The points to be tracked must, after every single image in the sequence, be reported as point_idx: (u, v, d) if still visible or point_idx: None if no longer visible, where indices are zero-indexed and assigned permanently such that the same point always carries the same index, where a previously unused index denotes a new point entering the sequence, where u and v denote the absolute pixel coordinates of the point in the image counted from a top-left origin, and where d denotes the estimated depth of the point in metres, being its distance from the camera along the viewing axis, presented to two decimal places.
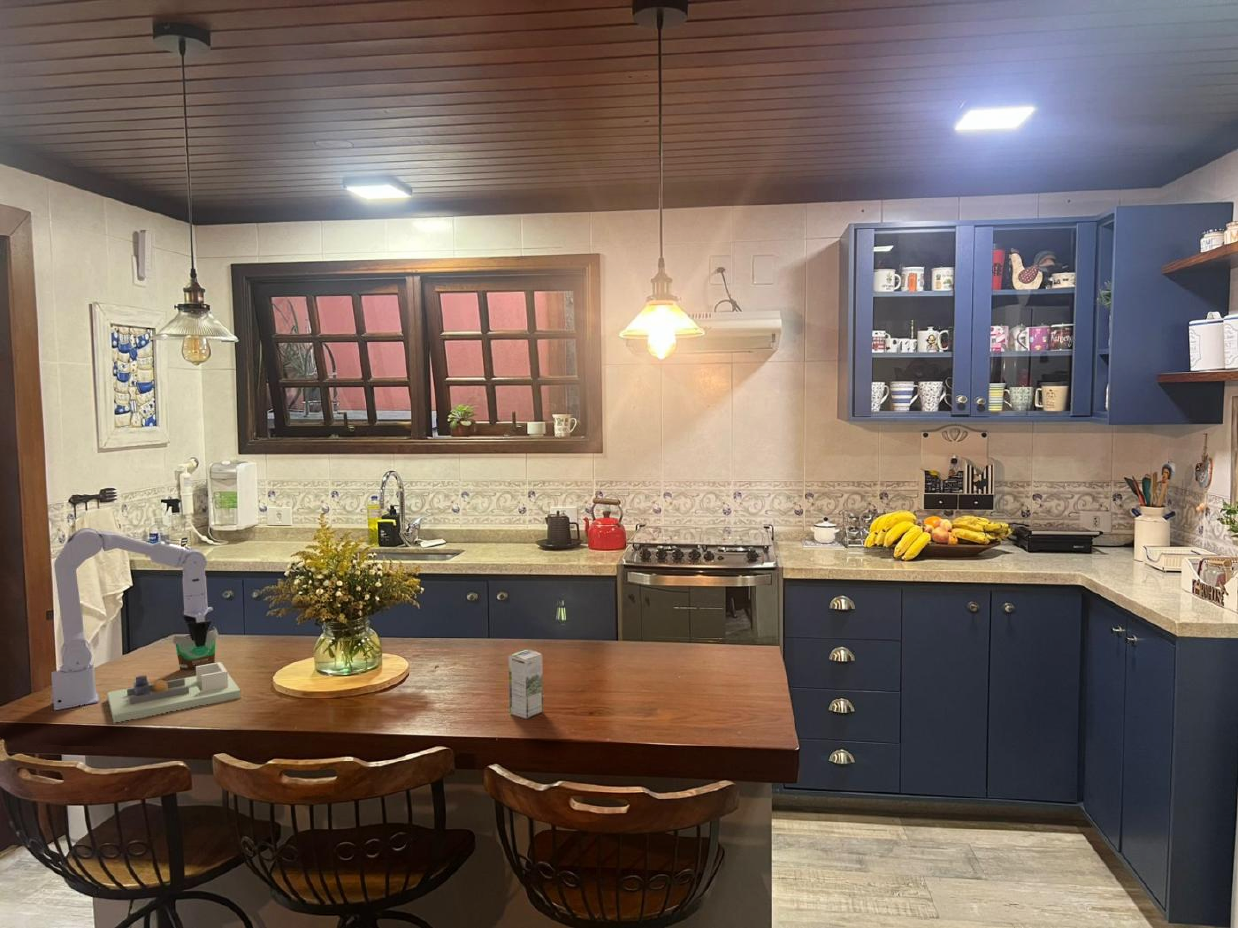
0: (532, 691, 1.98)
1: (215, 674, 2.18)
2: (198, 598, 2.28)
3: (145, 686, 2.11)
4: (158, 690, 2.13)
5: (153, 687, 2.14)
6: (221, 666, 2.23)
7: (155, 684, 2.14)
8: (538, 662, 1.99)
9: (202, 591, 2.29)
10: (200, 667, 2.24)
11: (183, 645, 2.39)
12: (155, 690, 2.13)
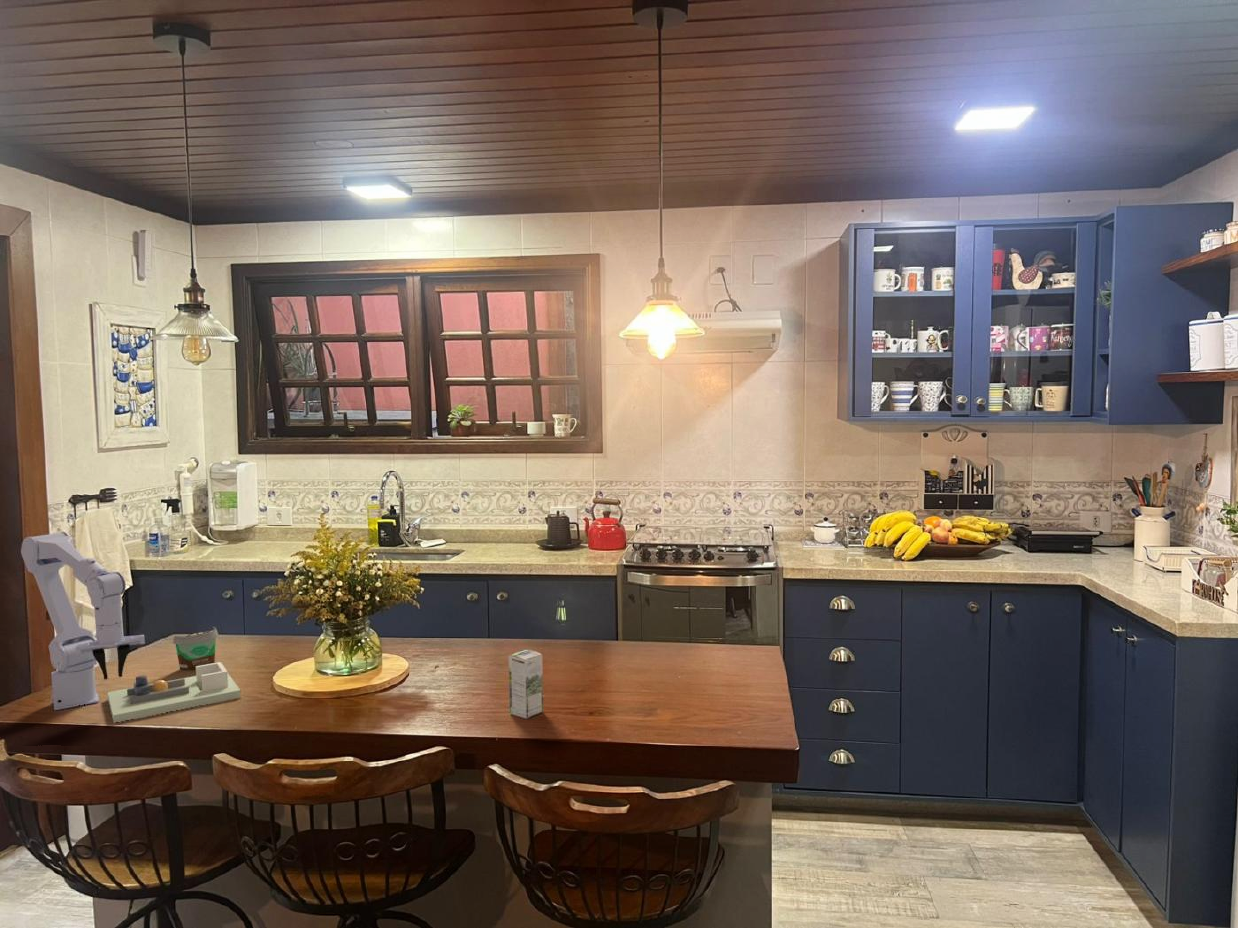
0: (532, 691, 1.98)
1: (215, 674, 2.18)
2: (96, 628, 2.06)
3: (145, 686, 2.11)
4: (158, 690, 2.13)
5: (153, 687, 2.14)
6: (221, 666, 2.23)
7: (155, 684, 2.14)
8: (538, 662, 1.99)
9: (102, 622, 2.05)
10: (200, 667, 2.24)
11: (183, 645, 2.39)
12: (155, 690, 2.13)
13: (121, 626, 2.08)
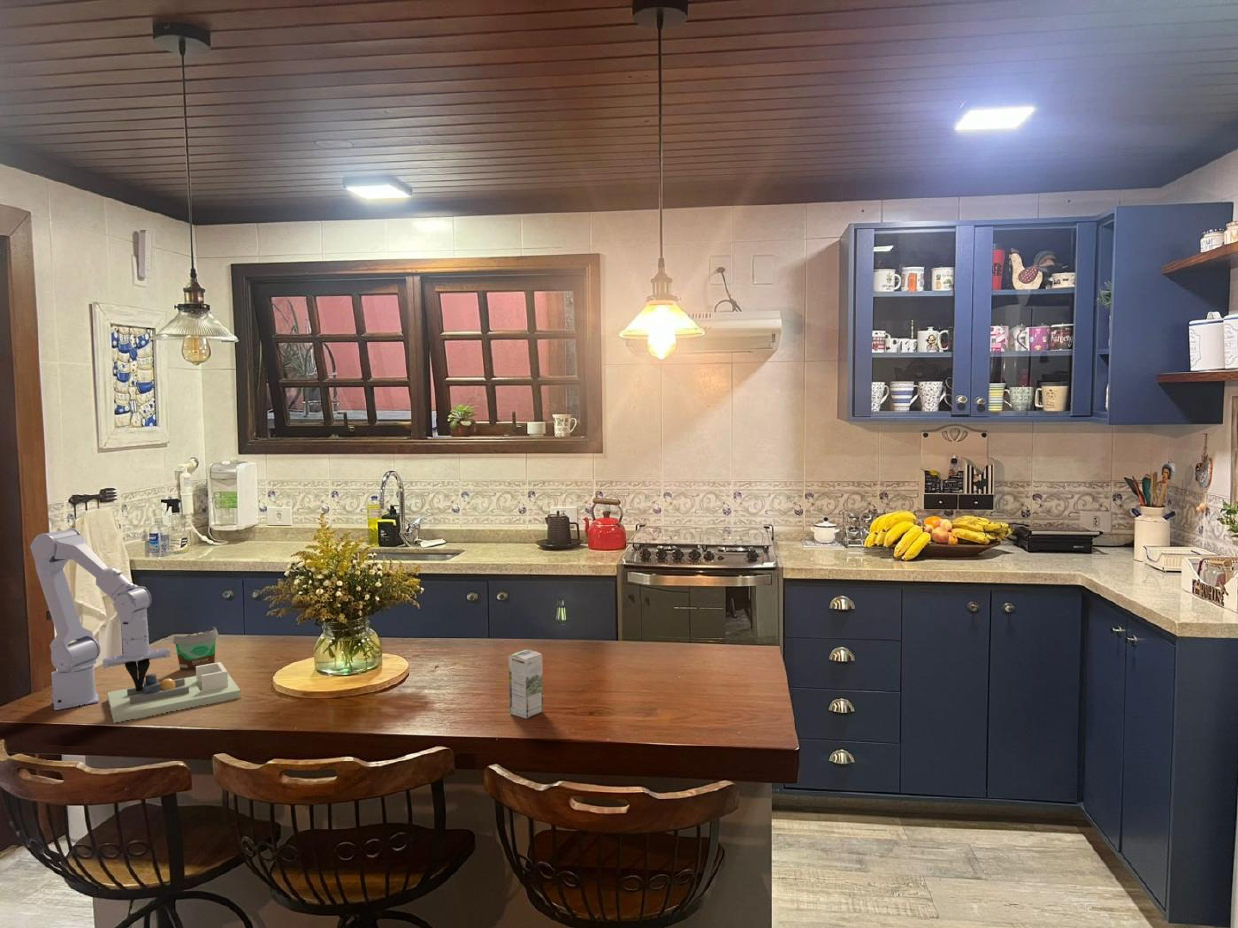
0: (532, 691, 1.98)
1: (215, 674, 2.18)
2: (122, 642, 2.09)
3: (155, 684, 2.12)
4: (165, 686, 2.14)
5: (164, 681, 2.15)
6: (221, 666, 2.23)
7: (168, 680, 2.15)
8: (538, 662, 1.99)
9: (132, 636, 2.09)
10: (200, 667, 2.24)
11: (183, 645, 2.39)
12: (163, 684, 2.14)
13: (147, 640, 2.12)
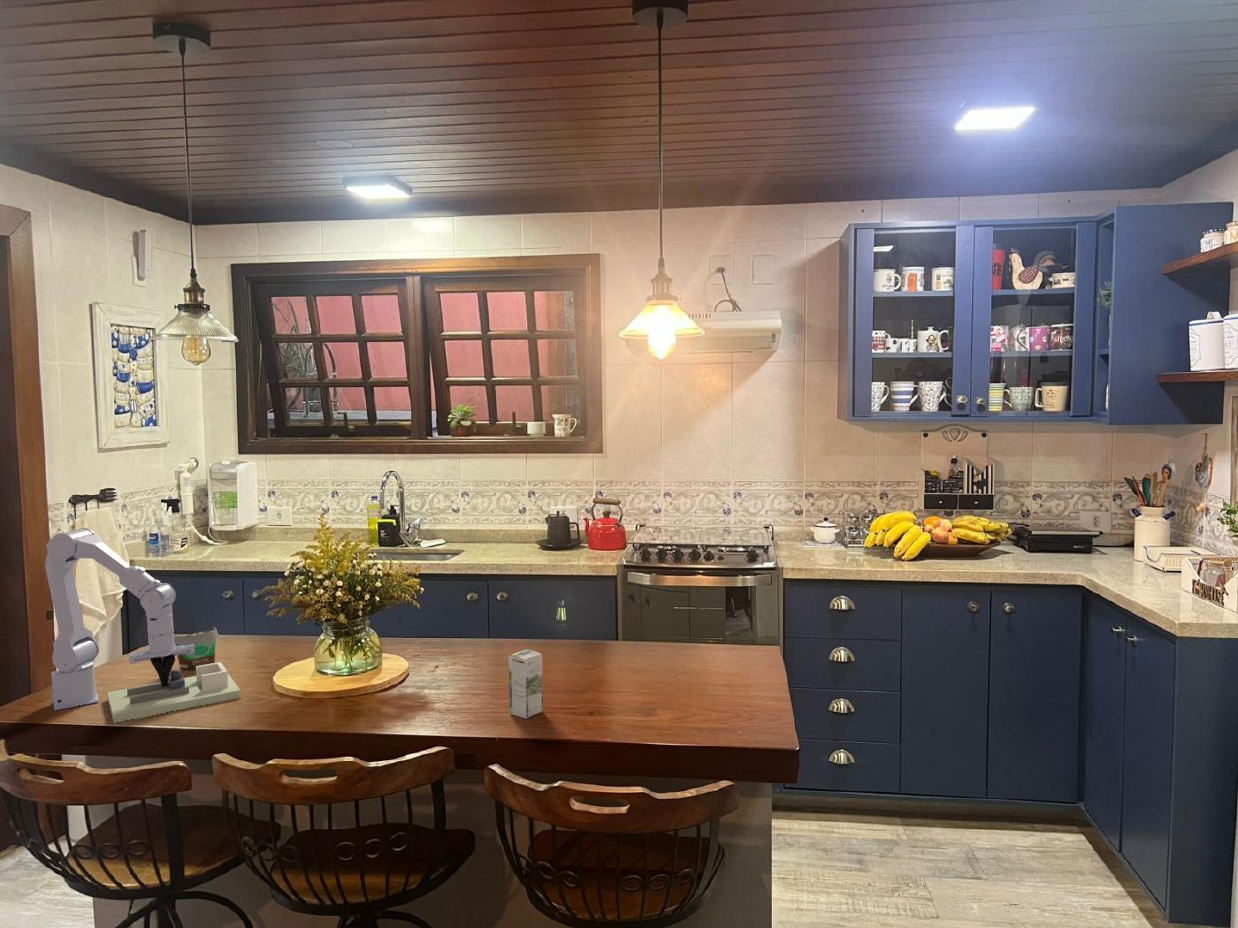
0: (532, 691, 1.98)
1: (215, 674, 2.18)
2: (148, 638, 2.13)
3: (180, 680, 2.16)
4: None
5: None
6: (221, 666, 2.23)
7: None
8: (538, 662, 1.99)
9: (161, 632, 2.12)
10: (200, 667, 2.24)
11: None
12: None
13: (172, 636, 2.15)
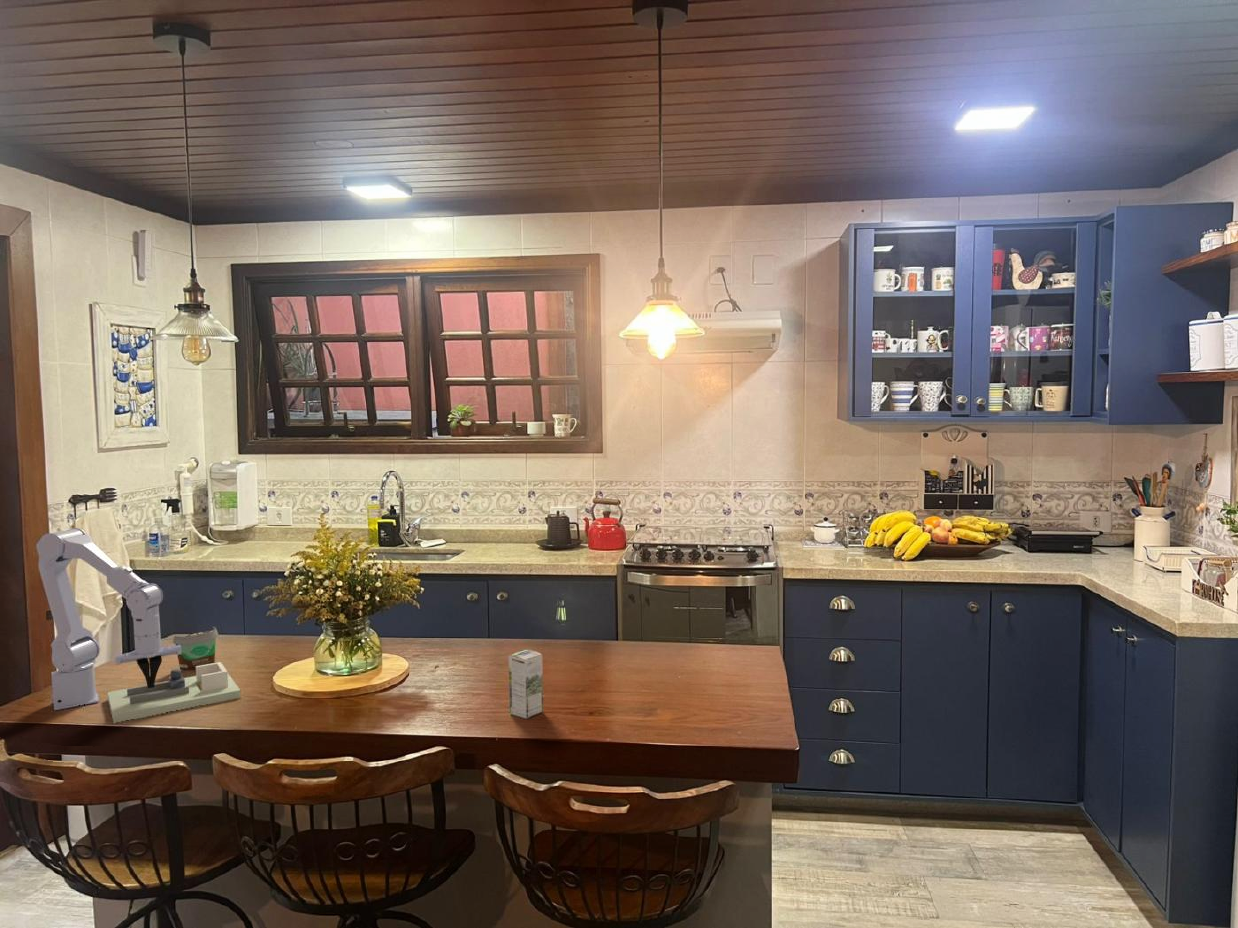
0: (532, 691, 1.98)
1: (215, 674, 2.18)
2: None
3: (180, 680, 2.16)
4: None
5: (201, 684, 2.20)
6: (221, 666, 2.23)
7: None
8: (538, 662, 1.99)
9: (146, 633, 2.10)
10: (200, 667, 2.24)
11: (183, 645, 2.39)
12: None
13: (159, 637, 2.13)
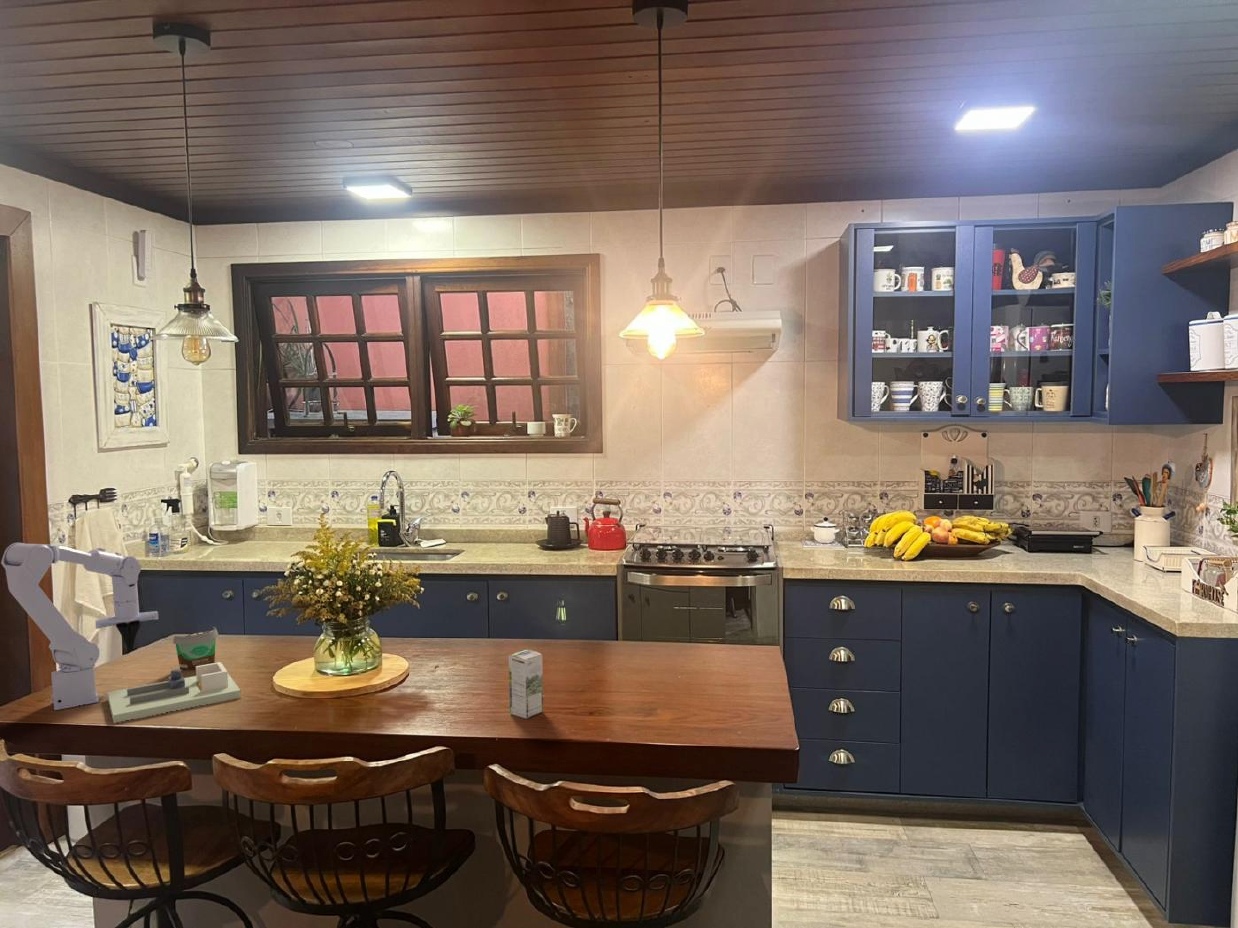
0: (532, 691, 1.98)
1: (215, 674, 2.18)
2: (114, 605, 2.26)
3: (180, 680, 2.16)
4: None
5: (199, 686, 2.20)
6: (221, 666, 2.23)
7: (201, 683, 2.20)
8: (538, 662, 1.99)
9: (137, 596, 2.28)
10: (200, 667, 2.24)
11: (183, 645, 2.39)
12: (201, 689, 2.19)
13: (137, 603, 2.28)
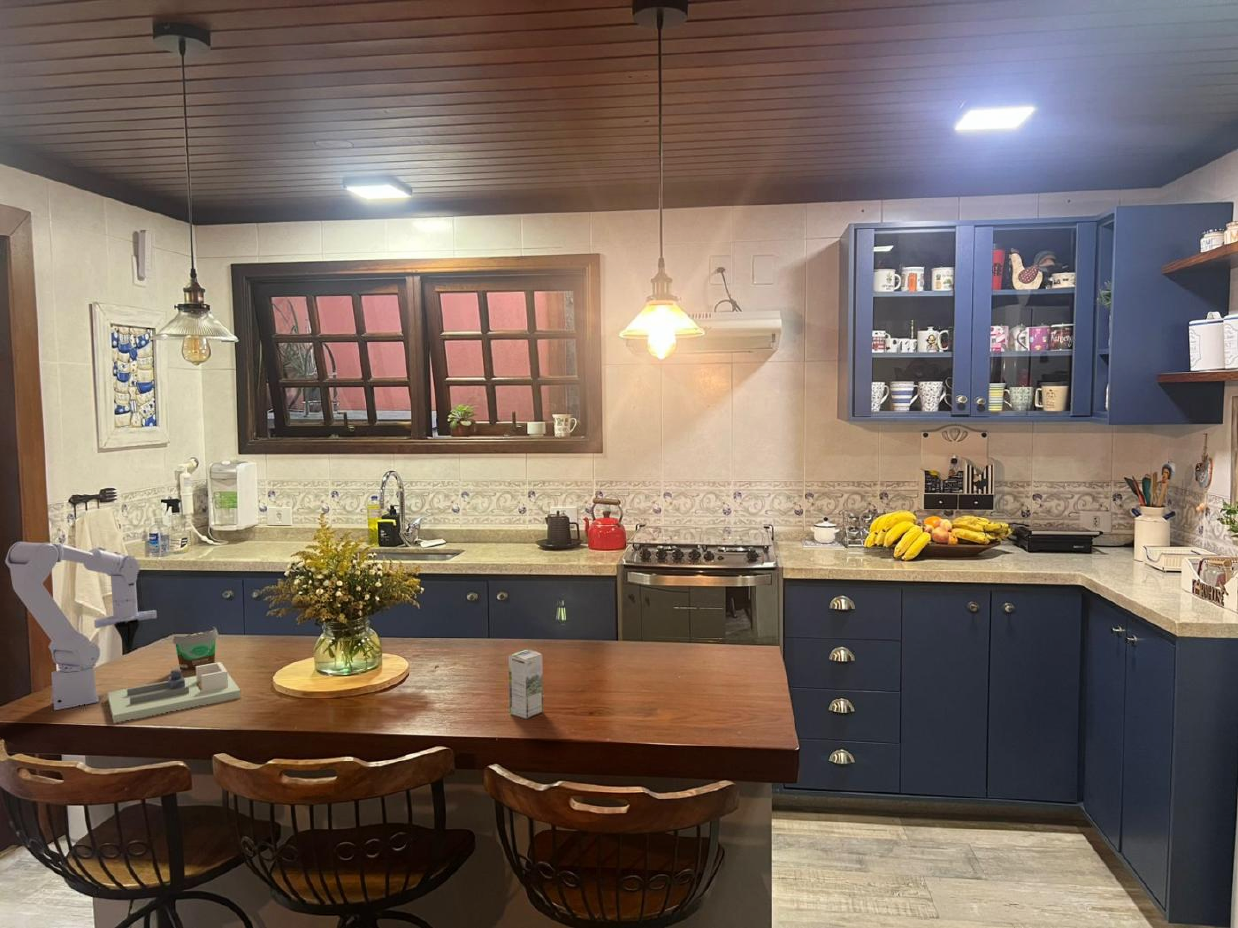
0: (532, 691, 1.98)
1: (215, 674, 2.18)
2: (113, 604, 2.27)
3: (180, 680, 2.16)
4: None
5: (200, 685, 2.20)
6: (221, 666, 2.23)
7: None
8: (538, 662, 1.99)
9: (136, 595, 2.29)
10: (200, 667, 2.24)
11: (183, 645, 2.39)
12: None
13: (136, 602, 2.29)
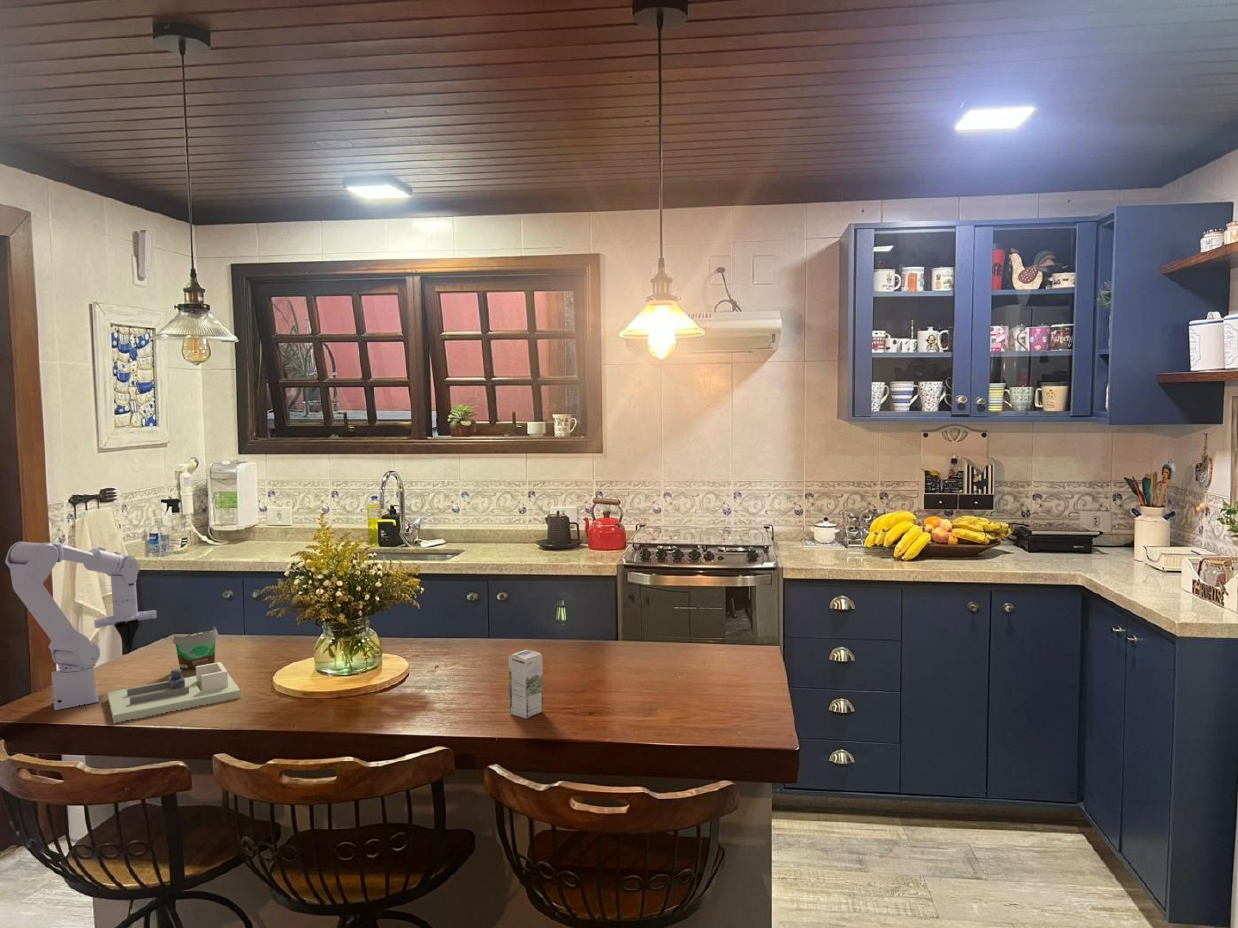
0: (532, 691, 1.98)
1: (215, 674, 2.18)
2: (113, 604, 2.27)
3: (180, 680, 2.16)
4: None
5: None
6: (221, 666, 2.23)
7: None
8: (538, 662, 1.99)
9: (136, 595, 2.29)
10: (200, 667, 2.24)
11: (183, 645, 2.39)
12: None
13: (136, 602, 2.29)
